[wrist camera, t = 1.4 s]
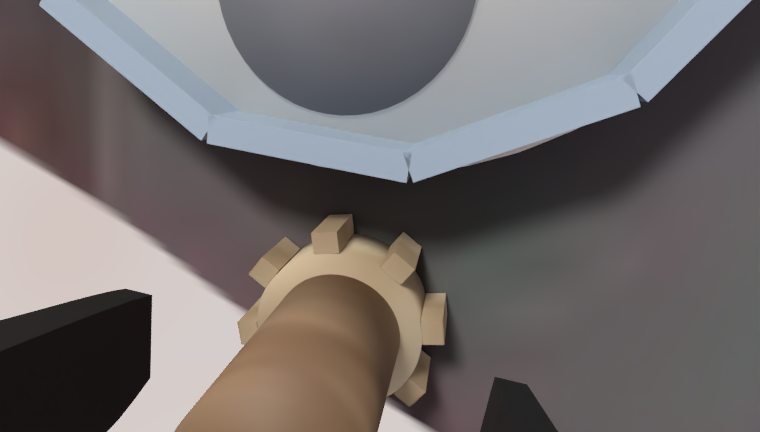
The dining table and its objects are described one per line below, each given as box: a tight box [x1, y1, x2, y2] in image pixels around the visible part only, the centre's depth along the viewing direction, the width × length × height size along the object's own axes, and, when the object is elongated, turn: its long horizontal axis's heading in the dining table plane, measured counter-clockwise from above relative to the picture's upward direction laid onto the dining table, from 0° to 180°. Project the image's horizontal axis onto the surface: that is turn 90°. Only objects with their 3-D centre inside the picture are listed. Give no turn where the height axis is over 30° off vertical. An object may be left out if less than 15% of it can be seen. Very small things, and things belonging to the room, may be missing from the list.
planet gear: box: [175, 214, 447, 432], centre depth 10 cm, size 5×5×6 cm
